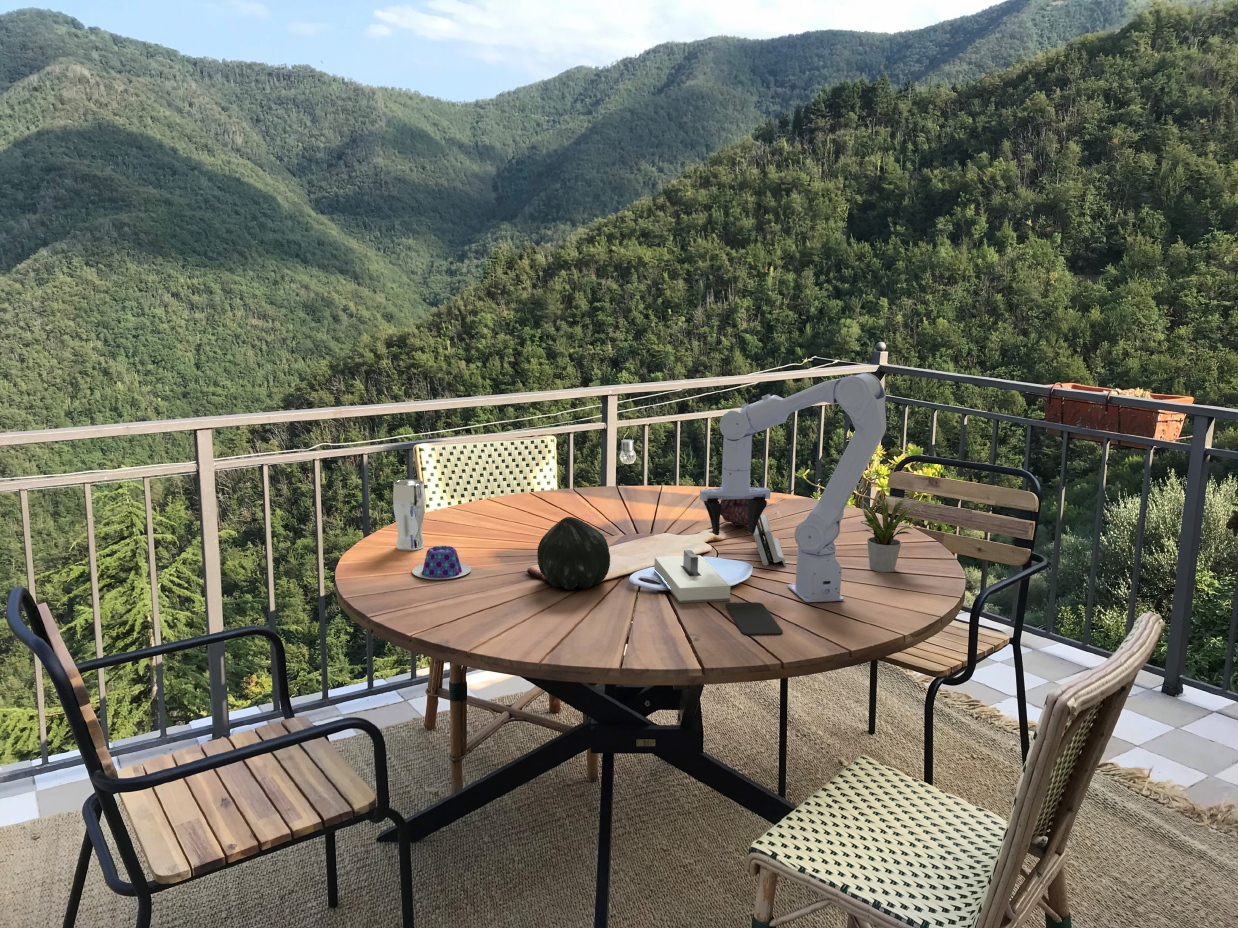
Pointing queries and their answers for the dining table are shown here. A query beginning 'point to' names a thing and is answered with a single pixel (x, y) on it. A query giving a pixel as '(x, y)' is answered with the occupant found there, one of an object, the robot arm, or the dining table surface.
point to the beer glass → (409, 513)
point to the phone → (753, 619)
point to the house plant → (884, 536)
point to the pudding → (441, 564)
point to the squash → (573, 555)
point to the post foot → (692, 581)
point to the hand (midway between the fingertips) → (733, 533)
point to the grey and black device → (767, 543)
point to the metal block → (690, 563)
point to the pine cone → (735, 511)
